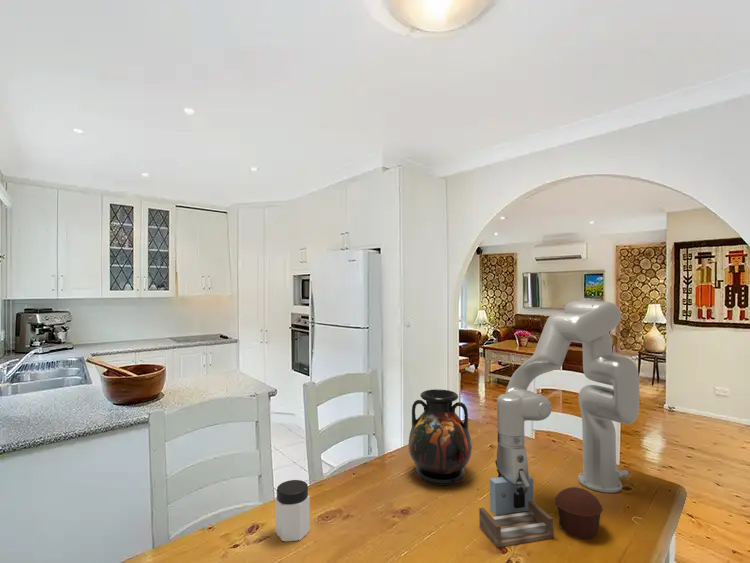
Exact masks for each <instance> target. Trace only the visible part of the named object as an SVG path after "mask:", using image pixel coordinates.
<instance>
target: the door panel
mask: <svg viewBox="0 0 750 563" xmlns="http://www.w3.org/2000/svg"><path fill="white" fill-rule="evenodd" d="M519 481H520V479H518V480H516V482H519ZM528 483H529V486H530V487H529V488H528V490H527V492H526V494H525V507H523V508H514V493H515V490H514V486H513V483H512V482H510V481H509V480H508V479H507V478H505V477H499V478H498V477H492V478H489V504H490V506H489V509H490V511H491V512H492V513H493V515H495V516H503V515H509V514H516V513H523V512H528V501H533V502H534V478H533V477H531V476H530V475H529V481H528ZM517 487H518V489H519V488H520V487H521V485H520V484H517Z"/></svg>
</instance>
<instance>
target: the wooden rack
mask: <svg viewBox="0 0 750 563" xmlns="http://www.w3.org/2000/svg"><path fill="white" fill-rule="evenodd" d="M478 511H479V514H478V515H479V518H478V520H479V528H480V530H481V531H483V533H484V535H486V537H487V538H488V539H489V540H490V541H491V542H492V544H493V545H494V546H495V548H503V547H510V546H513V545H514V546H515V545H521V544H527V543H532V542H539V541H544V540H551V539H554V518H553V517H552V516H551V515H550V514H548V512H546V511H545V510H544V509H543V508H542V507H540V506H539V505H538V504H537V503H536V502H535V501H534V500H533V501H528V511H523V512H516V513H509V514H503V515H496V516H492V515H491V514H490V513H489V512H488V511H487V509H486V508H485V507H479V508H478Z"/></svg>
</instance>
